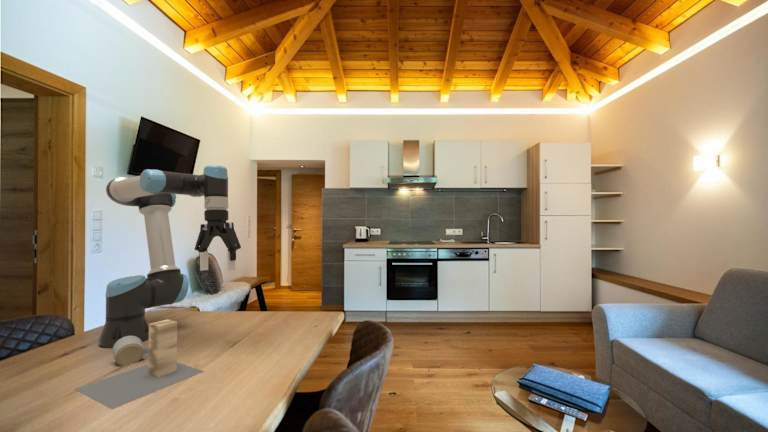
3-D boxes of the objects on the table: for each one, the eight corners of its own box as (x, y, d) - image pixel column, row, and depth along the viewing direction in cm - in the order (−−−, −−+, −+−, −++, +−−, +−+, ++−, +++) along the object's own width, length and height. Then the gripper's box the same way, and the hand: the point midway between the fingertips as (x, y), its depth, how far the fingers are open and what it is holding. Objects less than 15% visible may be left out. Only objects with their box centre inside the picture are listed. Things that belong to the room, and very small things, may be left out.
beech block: (148, 374, 93) (148, 323, 93) (166, 367, 97) (167, 319, 98) (158, 377, 90) (158, 326, 91) (176, 370, 95) (177, 321, 95)
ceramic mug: (114, 371, 97) (115, 344, 98) (111, 362, 103) (112, 338, 103) (157, 361, 104) (158, 336, 105) (152, 354, 110) (153, 331, 111)
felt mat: (74, 392, 84) (74, 388, 84) (165, 361, 104) (165, 358, 104) (112, 413, 75) (112, 409, 75) (204, 374, 94) (204, 371, 94)
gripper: (183, 211, 118) (183, 271, 117) (232, 206, 107) (233, 272, 106) (202, 212, 125) (203, 268, 124) (250, 207, 114) (252, 269, 113)
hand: (217, 270), depth 115 cm, fingers open, 13 cm apart
